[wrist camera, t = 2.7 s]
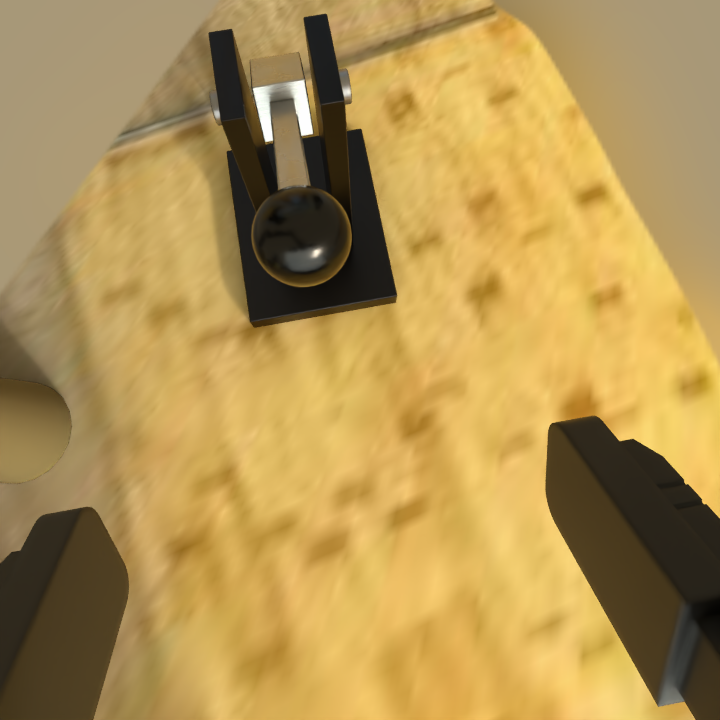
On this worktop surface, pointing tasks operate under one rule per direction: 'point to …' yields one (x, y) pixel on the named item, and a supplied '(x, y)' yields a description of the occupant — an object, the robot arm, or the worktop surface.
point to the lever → (294, 184)
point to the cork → (30, 430)
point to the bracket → (326, 171)
